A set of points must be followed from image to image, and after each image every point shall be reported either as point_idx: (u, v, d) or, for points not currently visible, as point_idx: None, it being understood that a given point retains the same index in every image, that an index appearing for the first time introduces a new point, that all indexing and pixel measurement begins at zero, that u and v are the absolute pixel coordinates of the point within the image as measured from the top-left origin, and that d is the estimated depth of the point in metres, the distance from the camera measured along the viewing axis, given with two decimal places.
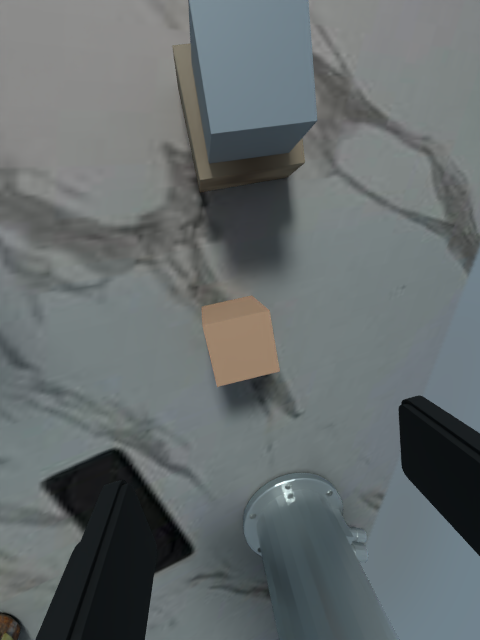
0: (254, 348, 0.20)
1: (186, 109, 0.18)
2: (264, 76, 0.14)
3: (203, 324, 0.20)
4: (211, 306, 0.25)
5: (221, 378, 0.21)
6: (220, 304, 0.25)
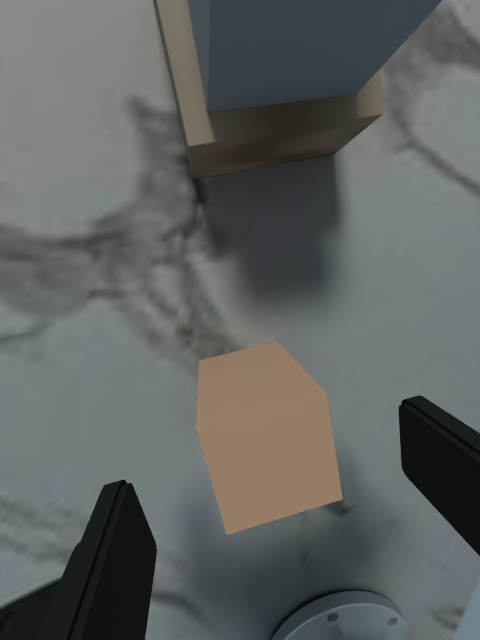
0: (296, 462, 0.11)
1: (159, 4, 0.09)
2: None
3: (198, 424, 0.10)
4: (214, 362, 0.16)
5: (235, 519, 0.11)
6: (228, 358, 0.16)
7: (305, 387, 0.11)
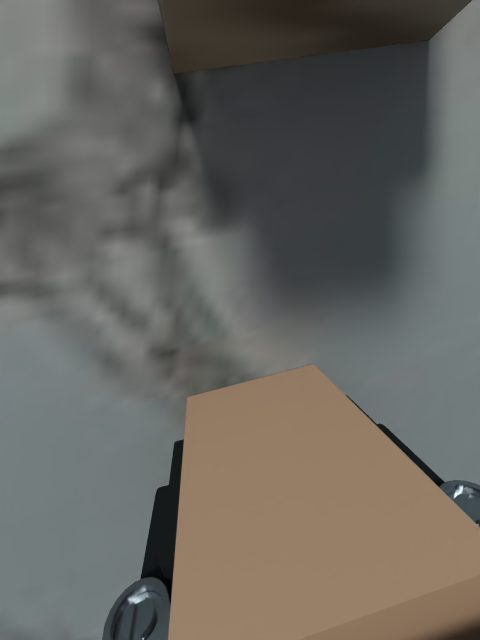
0: None
1: None
2: None
3: None
4: (212, 404, 0.09)
5: None
6: (237, 397, 0.09)
7: (433, 518, 0.05)
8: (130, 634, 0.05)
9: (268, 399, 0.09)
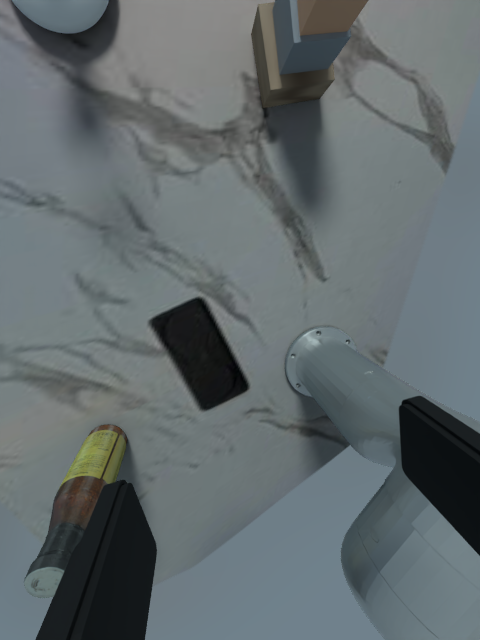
0: None
1: (264, 44, 0.30)
2: None
3: None
4: None
5: None
6: None
7: None
8: None
9: None
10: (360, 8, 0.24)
